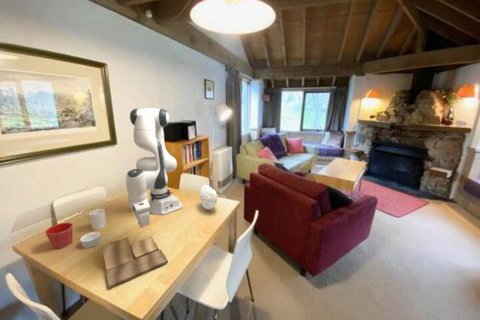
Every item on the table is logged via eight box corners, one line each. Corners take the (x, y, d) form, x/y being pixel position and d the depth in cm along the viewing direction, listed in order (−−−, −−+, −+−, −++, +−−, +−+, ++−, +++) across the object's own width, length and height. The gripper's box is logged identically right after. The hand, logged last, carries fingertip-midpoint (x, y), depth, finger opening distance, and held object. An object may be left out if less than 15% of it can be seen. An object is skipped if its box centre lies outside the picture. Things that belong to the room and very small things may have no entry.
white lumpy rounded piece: (220, 212, 147) (220, 190, 143) (206, 216, 142) (206, 193, 137) (210, 202, 162) (210, 182, 158) (197, 206, 156) (196, 184, 152)
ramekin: (81, 242, 112) (79, 235, 111) (100, 236, 118) (99, 229, 117) (81, 251, 106) (80, 243, 105) (102, 244, 111) (101, 237, 110)
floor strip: (160, 250, 107) (160, 248, 107) (168, 263, 99) (167, 260, 99) (105, 272, 92) (105, 269, 92) (109, 289, 84) (109, 286, 84)
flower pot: (59, 238, 115) (55, 222, 112) (80, 237, 116) (77, 222, 113) (43, 251, 105) (39, 234, 102) (66, 250, 106) (62, 233, 103)
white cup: (99, 231, 122) (96, 215, 120) (87, 229, 124) (85, 214, 121) (109, 224, 130) (107, 209, 127) (99, 222, 131) (96, 208, 129)
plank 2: (151, 239, 116) (151, 236, 116) (158, 250, 107) (158, 248, 107) (130, 246, 109) (129, 244, 109) (135, 259, 100) (135, 257, 100)
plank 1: (127, 238, 106) (127, 237, 105) (133, 260, 100) (133, 259, 99) (101, 247, 99) (101, 245, 98) (106, 271, 93) (106, 270, 92)
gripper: (126, 195, 110) (129, 218, 114) (136, 211, 95) (139, 237, 99) (139, 192, 114) (142, 214, 118) (151, 207, 99) (153, 233, 102)
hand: (141, 225), depth 108 cm, fingers closed
